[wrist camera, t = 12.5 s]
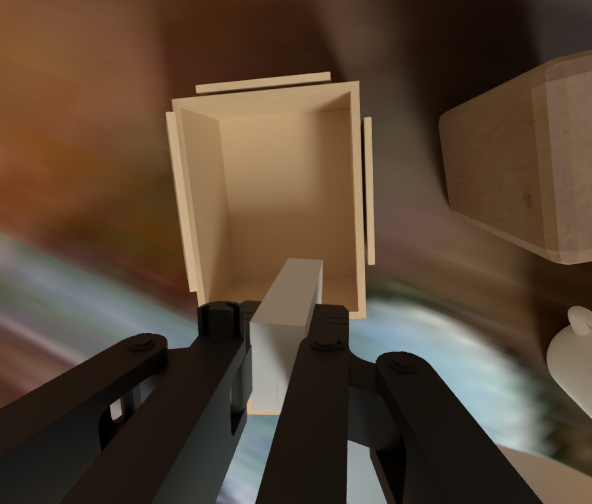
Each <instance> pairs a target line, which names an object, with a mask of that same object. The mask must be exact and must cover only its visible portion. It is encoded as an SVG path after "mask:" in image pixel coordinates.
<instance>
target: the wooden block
mask: <svg viewBox="0 0 592 504" xmlns="http://www.w3.org/2000/svg"><path fill="white" fill-rule="evenodd" d="M438 127H439V134H440V141H441V148H442V156H443V163H444V170H445V177H446V185H447V192H448V199H449V206H450V210H451V212H452V213H453V215H454V216H456V217H458V218H460V219H462V220H465V221H467V222H469V223H471V224H473V225H475V226H477V227H480V228H482V229H484V230H486V231H488V232H490V233H492V234H494V235H497V236H499V237H501V238H503V239H505V240H507V241H509V242H511V243H514V244H516V245H518V246H520V247H522V248H524V249H526V250H529V251H531V252H533V253H535V254H537V255H539V256H541V257H543V258H546V259H548V260H550V261H552V262H556V263H561V264H566V265H571V264H577V263H583V262H589V261H592V50H588V51H584V52H579V53H575V54H571V55H567V56H563V57H559V58H555V59H552V60H550V61H548V62H546V63H544V64H542V65H540V66H537V67H535V68H533V69H531V70H529V71H527V72H525V73H523V74H521V75H519V76H517V77H515V78H513V79H511V80H509V81H507V82H505V83H503V84H501V85H499V86H497V87H495V88H493V89H491V90H489V91H487V92H485V93H483V94H481V95H479V96H477V97H475V98H473V99H471V100H469V101H467V102H465V103H463V104H461V105H459V106H457V107H455V108H453V109H451V110H449V111H447V112H445V113H444V114H443V115H441V116H440V119H439V123H438Z"/></svg>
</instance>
